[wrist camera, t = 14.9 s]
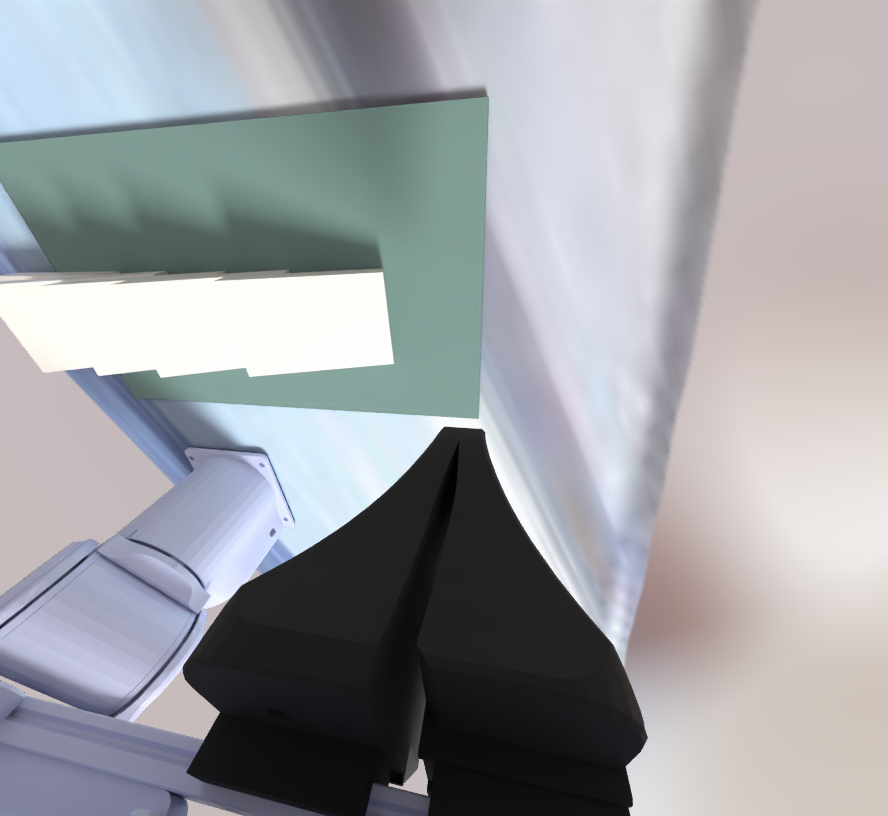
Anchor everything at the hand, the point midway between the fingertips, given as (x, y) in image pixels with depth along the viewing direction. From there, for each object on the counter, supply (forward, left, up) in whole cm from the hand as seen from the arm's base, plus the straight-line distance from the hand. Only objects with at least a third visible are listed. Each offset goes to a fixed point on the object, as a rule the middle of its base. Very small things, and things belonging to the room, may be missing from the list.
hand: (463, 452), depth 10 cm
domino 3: (+2, +11, -9) cm, 14 cm away
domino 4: (+2, +5, -9) cm, 11 cm away
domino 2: (+2, +15, -9) cm, 18 cm away
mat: (+3, +14, -10) cm, 18 cm away
